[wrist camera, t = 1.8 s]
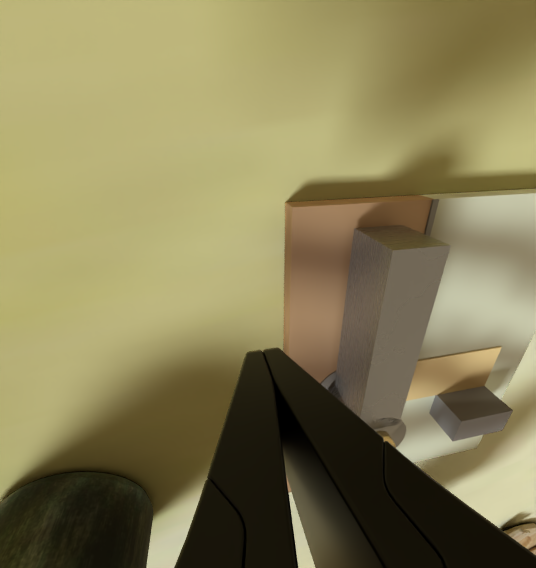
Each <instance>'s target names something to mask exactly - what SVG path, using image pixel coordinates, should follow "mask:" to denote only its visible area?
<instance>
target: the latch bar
mask: <svg viewBox="0 0 536 568" xmlns="http://www.w3.org/2000/svg"><path fill="white" fill-rule="evenodd" d="M450 247H451V245H449V244H447V243H445V242H442V241H440V240H437V239H435V238H433V237H430V236H428V235H425V234H423V233H421V232H418V231H416V230H413V229H411V228H409V227H406V226H404V225H390V226H377V227H364V228H354V233H353V241H352V249H351V257H350V265H349V273H348V281H347V289H346V298H345V306H344V314H343V322H342V330H341V338H340V346H339V354H338V362H337V370H336V378H335V385H334V386H333V387H332V388H331V389H330V390H329V392H331V393H332V394H333V395H334V396H335V397H336V398H338V399H339V400H340V401H341V402H342V403H343V404H345V405H346V406H347V407H348V408H349V409H350V410H352V411H353V412H354V413H355V414H356V415H357V416H359V417H360V418H361V419H362V420H363V421H364V422H366V423H367V424H368V425H369V426H370V427H371V428H373V429H374V430H375V431H376V432H377V433H378V434H379V435H381V436H382V437H383V438H384V441H388V442H389V443H390V444H391V445H393V446H394V447H395V448H396V447H398V446H399V444H400V443H401V442H402V440H403V439H404V437H405V434H406V426H405V424H404V422H403V421H402V420H401V416H402V413H403V409H404V406H405V403H406V399H407V396H408V392H409V389H410V385H411V382H412V378H413V375H414V371H415V368H416V365H417V361H418V358H419V354H420V351H421V347H422V344H423V340H424V337H425V333H426V330H427V327H428V323H429V320H430V316H431V313H432V309H433V306H434V302H435V299H436V296H437V292H438V289H439V285H440V282H441V278H442V275H443V271H444V268H445V264H446V261H447V258H448V254H449V251H450Z"/></svg>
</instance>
